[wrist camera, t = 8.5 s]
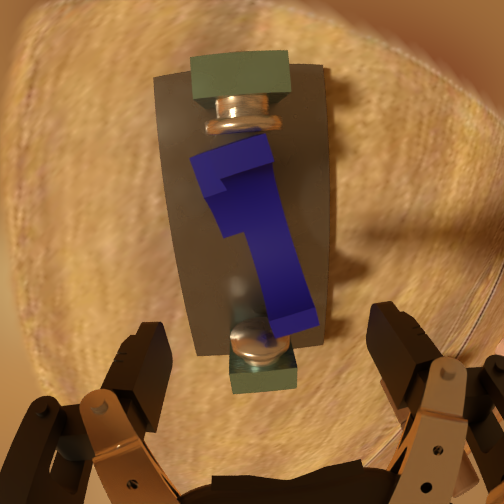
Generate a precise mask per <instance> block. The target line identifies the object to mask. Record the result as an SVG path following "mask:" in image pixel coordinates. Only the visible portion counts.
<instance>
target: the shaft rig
mask: <svg viewBox="0 0 504 504" xmlns="http://www.w3.org/2000/svg"><path fill="white" fill-rule="evenodd" d="M190 64H191V71H187V72H181V73H175V74H169V75H164V76H159V77H154V78H153V79H154V95H155V109H156V120H157V131H158V141H159V150H160V159H161V167H162V175H163V183H164V190H165V197H166V204H167V211H168V217H169V223H170V229H171V235H172V241H173V247H174V252H175V258H176V263H177V268H178V273H179V278H180V283H181V288H182V293H183V298H184V302H185V307H186V312H187V316H188V320H189V325H190V329H191V333H192V337H193V341H194V346H195V350H196V354H197V356H211V355H229V354H230V356H229V376H230V381H231V387H232V392H233V394H242V393H256V392H267V391H277V390H286V389H294V388H297V364H296V359H295V355H294V351H293V349H295V348H303V347H311V346H318V345H323V343H324V331H325V319H326V305H327V288H328V267H329V233H330V178H329V145H328V124H327V108H326V95H325V83H324V72H323V65H315V64H289V58H288V50H273V51H236V52H229V53H221V54H212V55H204V56H196V57H190ZM264 133H266V136H267V140H268V143H269V146H270V149H271V152H272V155H273V158H274V161H275V162H273V172H274V177H275V181H276V185H277V189H278V193H279V197H280V201H281V204H282V208H283V211H284V215H285V218H286V221H287V225H288V228H289V231H290V235H291V238H292V241H293V244H294V247H295V251H296V254H297V257H298V260H299V263H300V266H301V269H302V272H303V275H304V278H305V281H306V284H307V286H308V289H309V292H310V295H311V297H312V300H313V303H314V305H315V308H316V312H317V316H318V320H319V324H320V325H319V326H316V327H313V328H310V329H306V330H303V331H300V332H297V333H293V334H290V335H287V336H283V337H280V338H276V339H275V337H274V335H273V332H272V329H271V327H270V324H269V321H268V315H267V310H266V306H265V301H264V297H263V293H262V289H261V285H260V282H259V278H258V275H257V271H256V268H255V264H254V261H253V258H252V255H251V252H250V248H249V245H248V242H247V239H246V237H245V234H244V232H242V233H239V234H236V235H232V236H229V237H226V238H223V236H222V234H221V231H220V229H219V227H218V224H217V222H216V220H215V218H214V215H213V213H212V211H211V209H210V208H209V206H208V204H207V202H206V201H205V199H204V197H203V194H202V192H201V189H200V186H199V184H198V181H197V178H196V176H195V173H194V170H193V167H192V165H191V162H190V159H189V158H191V157H193V156H195V155H197V154H200V153H203V152H206V151H209V150H211V149H214V148H217V147H220V146H223V145H226V144H229V143H232V142H235V141H238V140H241V139H244V138H247V137H250V136H254V135H257V134H264Z"/></svg>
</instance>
